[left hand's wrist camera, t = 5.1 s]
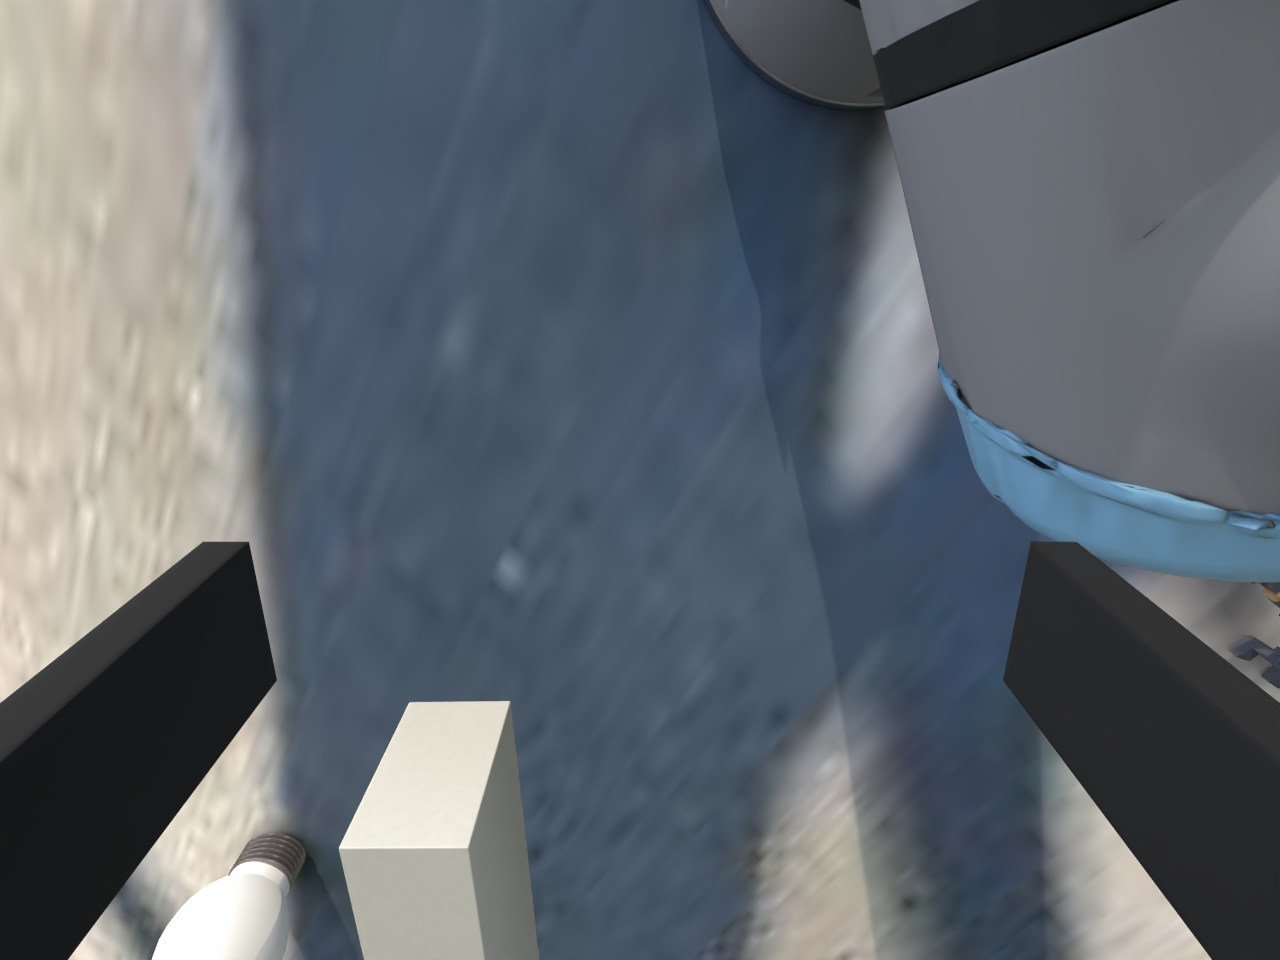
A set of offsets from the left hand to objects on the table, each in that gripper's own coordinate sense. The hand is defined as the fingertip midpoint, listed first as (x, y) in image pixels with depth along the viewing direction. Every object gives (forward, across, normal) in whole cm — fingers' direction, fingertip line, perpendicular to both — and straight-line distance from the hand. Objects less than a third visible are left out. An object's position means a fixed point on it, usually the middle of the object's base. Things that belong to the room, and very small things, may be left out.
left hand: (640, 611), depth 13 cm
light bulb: (+27, -24, -34) cm, 50 cm away
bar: (+17, -8, -32) cm, 38 cm away
